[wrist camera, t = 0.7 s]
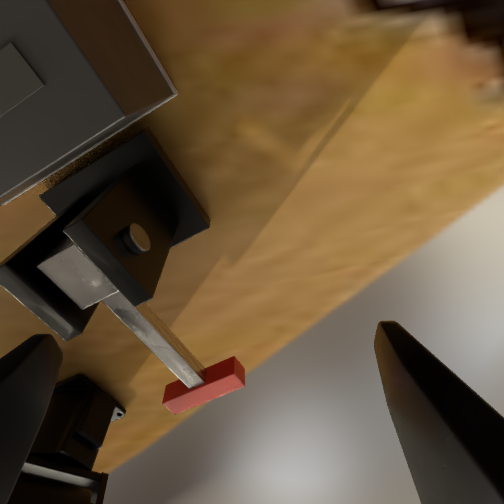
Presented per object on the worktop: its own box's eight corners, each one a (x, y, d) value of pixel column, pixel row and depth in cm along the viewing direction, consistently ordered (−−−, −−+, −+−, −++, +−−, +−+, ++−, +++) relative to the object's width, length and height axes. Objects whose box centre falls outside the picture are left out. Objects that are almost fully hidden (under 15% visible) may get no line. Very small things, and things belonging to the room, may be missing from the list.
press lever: (244, 361, 21) (245, 394, 19) (179, 389, 22) (173, 423, 20) (119, 206, 15) (101, 228, 13) (39, 252, 16) (11, 280, 14)
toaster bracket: (210, 220, 23) (198, 305, 15) (119, 269, 24) (61, 370, 16) (148, 126, 20) (88, 169, 12) (47, 190, 21) (-68, 266, 13)
